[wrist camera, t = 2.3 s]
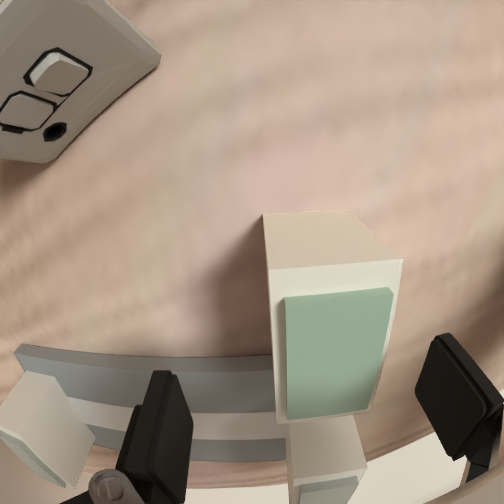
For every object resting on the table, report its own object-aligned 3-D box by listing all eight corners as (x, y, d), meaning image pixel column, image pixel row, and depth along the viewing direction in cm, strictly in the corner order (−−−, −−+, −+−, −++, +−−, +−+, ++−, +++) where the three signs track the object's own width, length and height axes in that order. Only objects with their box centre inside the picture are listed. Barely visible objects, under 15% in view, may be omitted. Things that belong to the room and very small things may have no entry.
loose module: (345, 208, 15) (409, 264, 8) (339, 329, 18) (372, 419, 11) (262, 213, 16) (269, 277, 9) (270, 336, 18) (277, 432, 11)
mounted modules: (343, 382, 18) (369, 475, 11) (329, 445, 21) (342, 516, 14) (26, 370, 19) (-13, 425, 12) (67, 429, 22) (43, 480, 15)
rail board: (348, 346, 19) (353, 361, 17) (330, 442, 23) (332, 454, 22) (21, 343, 20) (13, 353, 18) (76, 429, 24) (72, 439, 23)
